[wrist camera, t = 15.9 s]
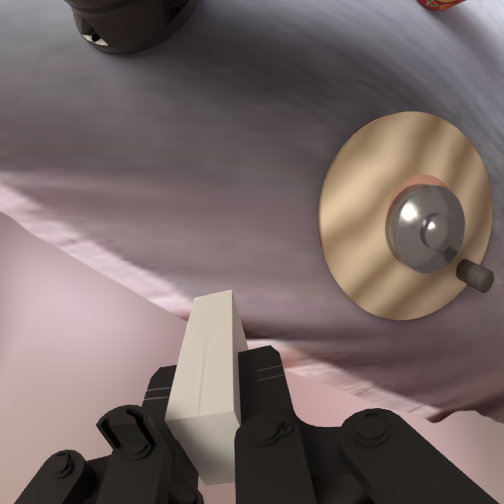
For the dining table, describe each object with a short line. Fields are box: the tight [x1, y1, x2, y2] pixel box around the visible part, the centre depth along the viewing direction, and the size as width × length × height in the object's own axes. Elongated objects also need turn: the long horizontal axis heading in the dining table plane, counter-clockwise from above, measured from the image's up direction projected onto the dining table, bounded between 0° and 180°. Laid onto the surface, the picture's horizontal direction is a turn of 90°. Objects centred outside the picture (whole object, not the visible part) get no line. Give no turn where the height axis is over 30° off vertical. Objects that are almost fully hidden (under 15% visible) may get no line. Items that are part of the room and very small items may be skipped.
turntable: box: [318, 111, 494, 320], centre depth 32 cm, size 26×26×7 cm
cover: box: [385, 183, 465, 274], centre depth 32 cm, size 10×10×4 cm
